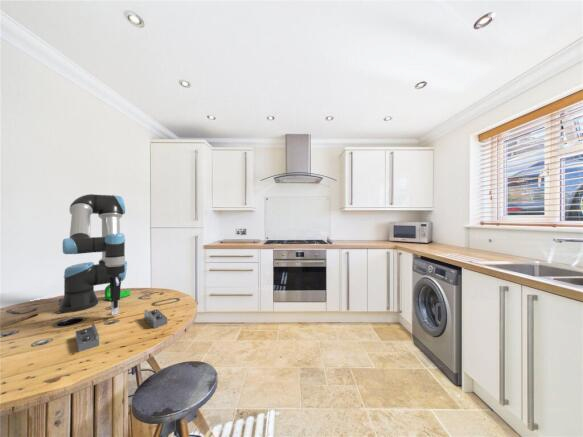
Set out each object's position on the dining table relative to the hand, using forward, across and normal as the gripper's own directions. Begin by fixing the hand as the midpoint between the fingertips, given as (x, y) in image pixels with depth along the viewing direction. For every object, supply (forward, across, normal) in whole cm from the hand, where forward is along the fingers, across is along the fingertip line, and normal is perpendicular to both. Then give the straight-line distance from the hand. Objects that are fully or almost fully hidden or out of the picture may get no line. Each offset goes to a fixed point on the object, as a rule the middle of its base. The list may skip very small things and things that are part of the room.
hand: (115, 313), depth 107 cm
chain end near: (+2, +20, -12) cm, 23 cm away
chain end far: (+2, +20, +12) cm, 23 cm away
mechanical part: (+2, -35, +7) cm, 36 cm away
